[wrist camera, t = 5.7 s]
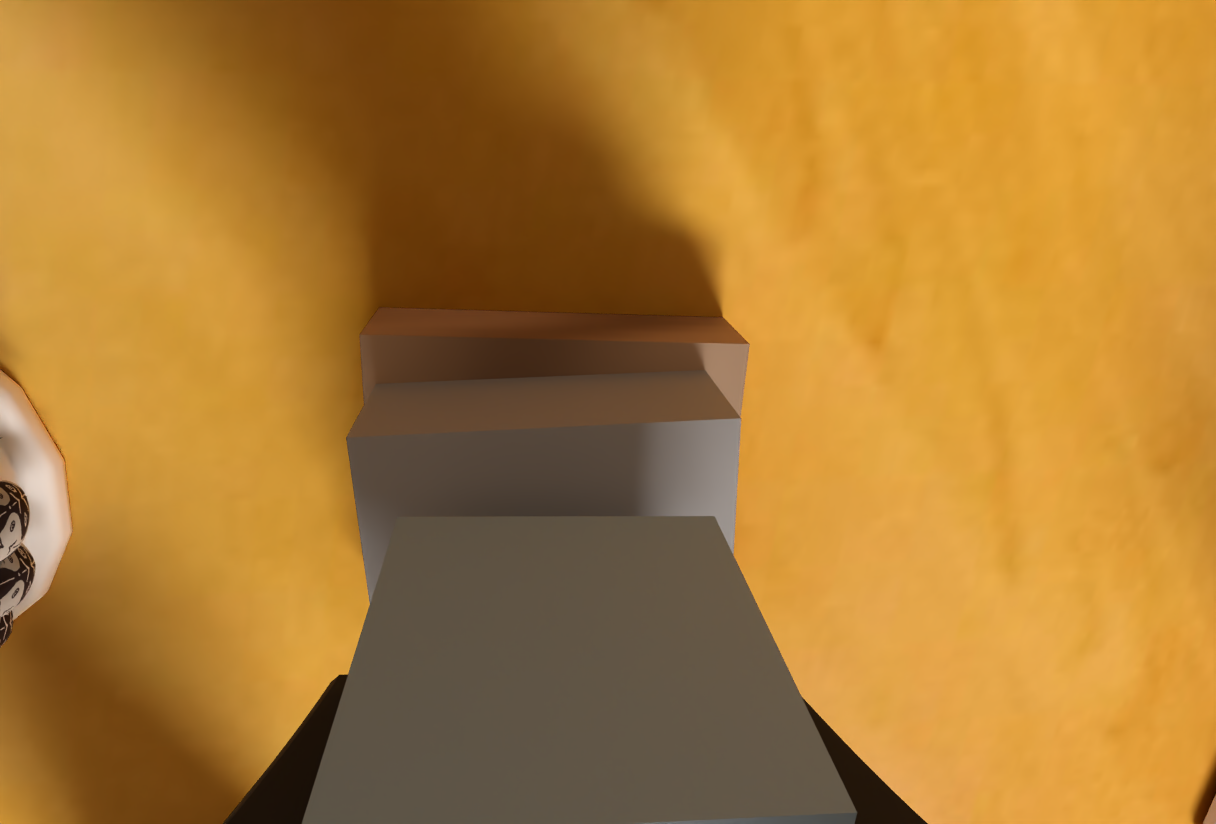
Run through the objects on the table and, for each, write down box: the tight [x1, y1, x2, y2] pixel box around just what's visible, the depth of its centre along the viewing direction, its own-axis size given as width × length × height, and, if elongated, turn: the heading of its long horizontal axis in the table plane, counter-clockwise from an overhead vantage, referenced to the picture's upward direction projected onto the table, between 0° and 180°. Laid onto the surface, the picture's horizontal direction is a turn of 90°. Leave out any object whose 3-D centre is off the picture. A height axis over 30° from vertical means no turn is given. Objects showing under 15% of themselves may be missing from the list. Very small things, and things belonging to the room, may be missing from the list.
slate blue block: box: [302, 516, 857, 824], centre depth 9 cm, size 4×4×5 cm
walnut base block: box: [360, 307, 749, 416], centre depth 16 cm, size 7×7×2 cm
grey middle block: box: [346, 370, 741, 603], centre depth 14 cm, size 6×6×2 cm
